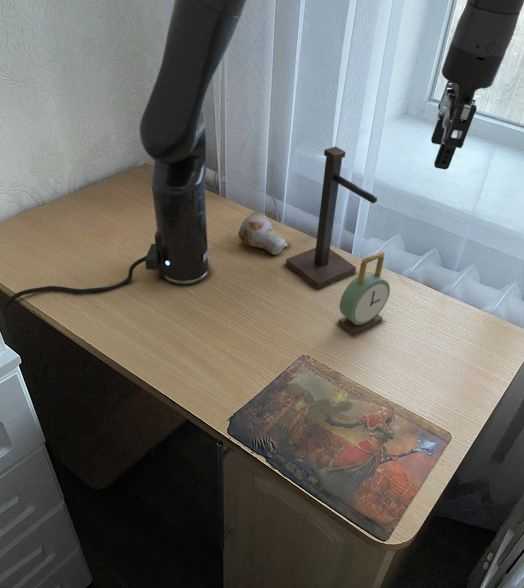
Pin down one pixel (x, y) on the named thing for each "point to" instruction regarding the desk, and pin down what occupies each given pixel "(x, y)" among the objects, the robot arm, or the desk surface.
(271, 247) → the spotted gourd
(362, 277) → the clock
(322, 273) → the rack
